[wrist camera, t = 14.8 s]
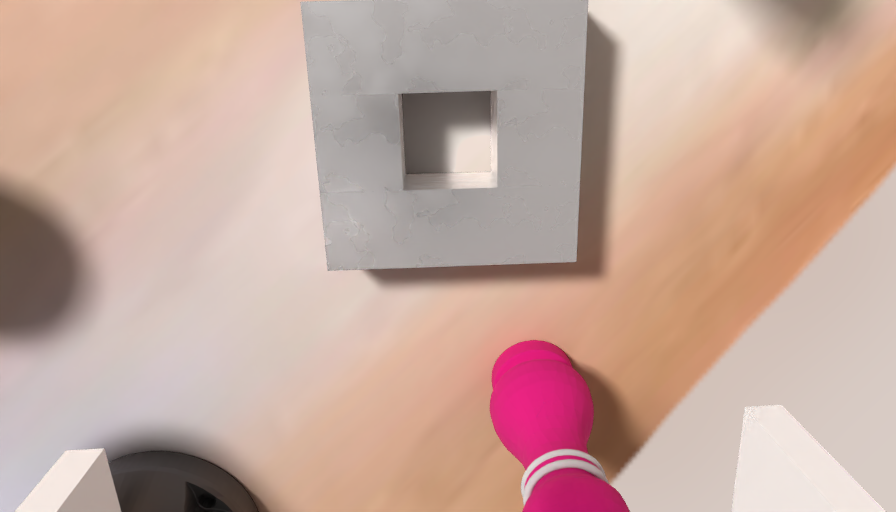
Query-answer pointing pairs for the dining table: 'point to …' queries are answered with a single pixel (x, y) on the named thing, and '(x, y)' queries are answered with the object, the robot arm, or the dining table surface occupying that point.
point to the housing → (447, 70)
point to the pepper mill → (549, 430)
